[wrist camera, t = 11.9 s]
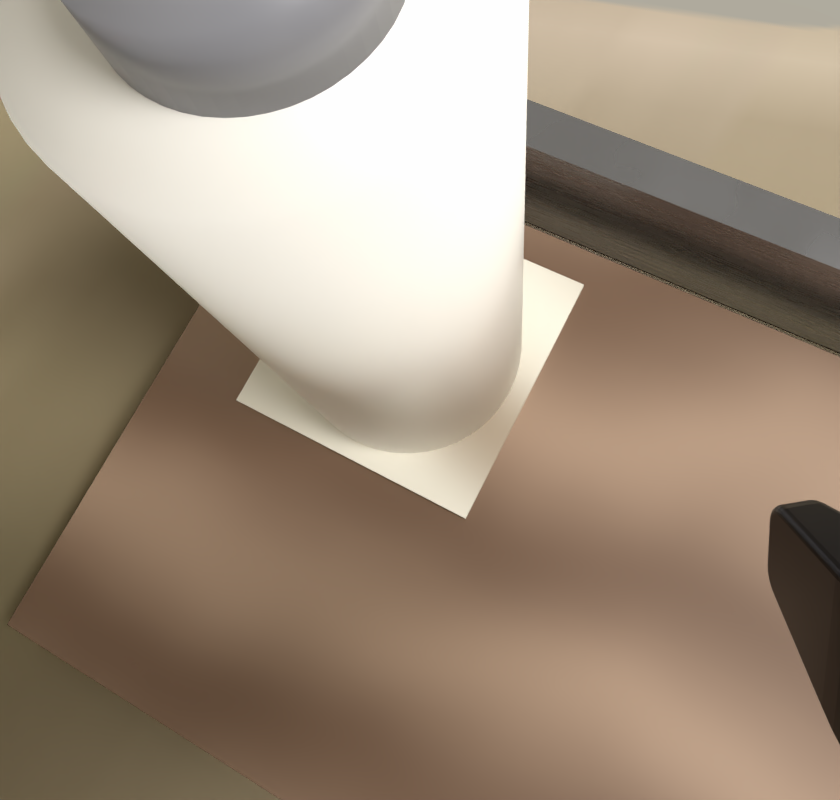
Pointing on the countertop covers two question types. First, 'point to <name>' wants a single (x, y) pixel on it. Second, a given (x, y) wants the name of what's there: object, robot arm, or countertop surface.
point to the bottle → (307, 182)
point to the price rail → (685, 223)
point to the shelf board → (471, 565)
